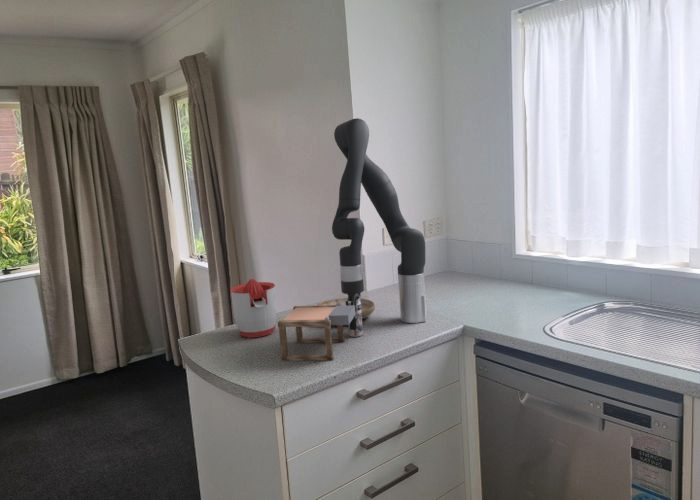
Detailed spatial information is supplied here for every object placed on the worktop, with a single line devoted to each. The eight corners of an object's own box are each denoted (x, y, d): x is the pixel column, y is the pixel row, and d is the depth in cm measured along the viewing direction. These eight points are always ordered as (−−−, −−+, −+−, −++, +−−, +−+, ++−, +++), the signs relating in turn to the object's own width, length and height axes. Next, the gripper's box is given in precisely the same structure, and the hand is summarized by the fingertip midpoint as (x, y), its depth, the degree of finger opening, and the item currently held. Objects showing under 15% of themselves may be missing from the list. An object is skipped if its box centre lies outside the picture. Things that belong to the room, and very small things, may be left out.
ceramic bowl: (302, 325, 203) (301, 312, 202) (333, 308, 224) (332, 296, 223) (358, 330, 192) (357, 316, 192) (385, 311, 213) (385, 299, 212)
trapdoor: (356, 313, 177) (355, 304, 177) (347, 326, 164) (347, 316, 163) (296, 314, 181) (295, 305, 181) (283, 327, 168) (282, 317, 167)
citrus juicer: (241, 344, 185) (235, 286, 182) (231, 331, 201) (225, 278, 198) (286, 336, 191) (281, 279, 188) (272, 324, 207) (267, 271, 204)
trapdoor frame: (344, 340, 182) (341, 302, 180) (332, 360, 165) (329, 318, 162) (297, 340, 185) (294, 303, 183) (281, 360, 168) (277, 318, 166)
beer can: (358, 338, 183) (355, 303, 181) (346, 336, 185) (343, 302, 184) (365, 334, 187) (363, 299, 185) (353, 332, 189) (351, 298, 187)
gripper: (359, 282, 175) (362, 332, 178) (366, 273, 189) (369, 319, 192) (336, 283, 177) (340, 332, 179) (345, 273, 191) (348, 320, 193)
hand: (355, 325), depth 186 cm, fingers open, 7 cm apart
